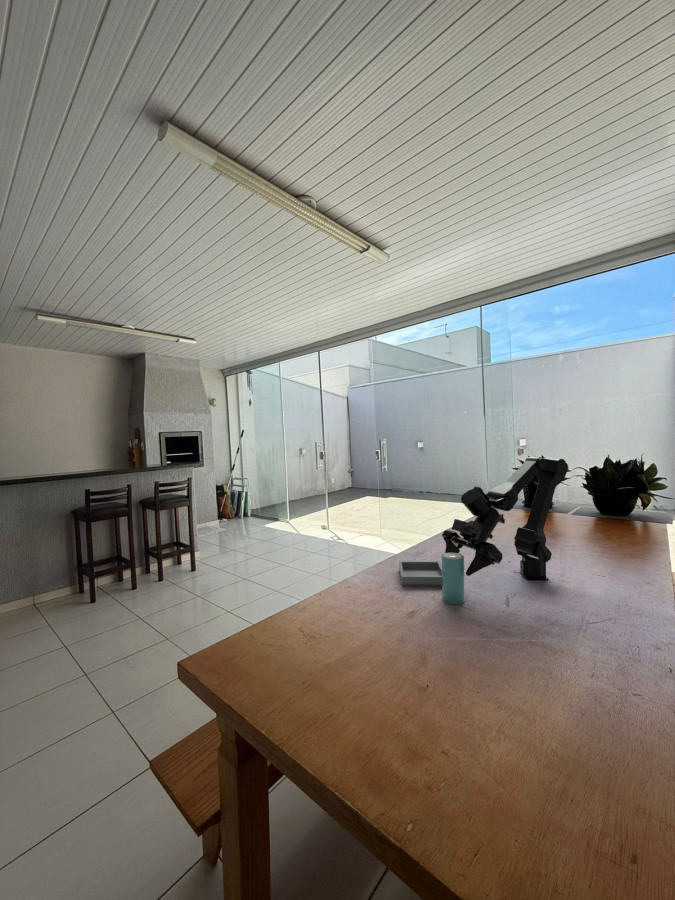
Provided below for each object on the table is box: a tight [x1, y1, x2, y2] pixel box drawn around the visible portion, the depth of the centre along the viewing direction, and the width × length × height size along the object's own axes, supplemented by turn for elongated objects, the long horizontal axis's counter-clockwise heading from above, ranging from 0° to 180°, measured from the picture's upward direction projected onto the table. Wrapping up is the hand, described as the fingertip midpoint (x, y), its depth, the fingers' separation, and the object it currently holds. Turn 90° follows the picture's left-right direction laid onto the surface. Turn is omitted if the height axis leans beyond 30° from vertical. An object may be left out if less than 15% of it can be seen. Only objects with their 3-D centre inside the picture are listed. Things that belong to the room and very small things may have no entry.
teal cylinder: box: [441, 552, 465, 605], centre depth 109 cm, size 6×6×13 cm
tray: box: [398, 560, 442, 587], centre depth 125 cm, size 14×14×3 cm
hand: (454, 569), depth 109 cm, fingers open, 9 cm apart
